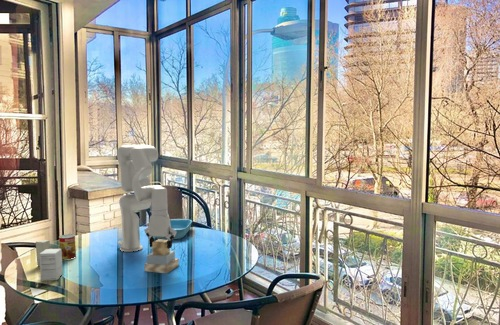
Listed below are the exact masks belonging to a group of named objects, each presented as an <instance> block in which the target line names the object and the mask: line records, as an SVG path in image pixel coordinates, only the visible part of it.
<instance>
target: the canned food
mask: <svg viewBox="0 0 500 325" xmlns="http://www.w3.org/2000/svg"><path fill="white" fill-rule="evenodd" d="M58 240H59V241H58V242H59V243H58V245H59V248H58V249H61V250H62V259H71V258H74V257H76V258H77V253H76V252H77V247H76V234H74V233H73V234H71V233H69V234H67V233H66V234H63V235H60V236H58ZM74 259H75V258H74ZM71 260H72V259H71Z"/></svg>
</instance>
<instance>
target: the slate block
mask: <svg viewBox="0 0 500 325" xmlns="http://www.w3.org/2000/svg"><path fill="white" fill-rule="evenodd" d="M146 258H147V259H146V261H147V262H146V263H147V264H157V265H168V264H169V263H170V262H171V261H173V260H174V259H175V258H176V251H175V250H170V252H169V253H167V254H165V255H164V256H163V255H153V251H151V253H149V254H148V255H146Z"/></svg>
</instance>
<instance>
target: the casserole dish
mask: <svg viewBox="0 0 500 325" xmlns="http://www.w3.org/2000/svg"><path fill="white" fill-rule="evenodd" d="M192 223H193V221H192V219H186V218H174V219H172V218H171V219H170V224H171V228H172V229H174V230H175V229H176V230H175V231H177V233H176V235H175V237H174V238H173V239H172V240H180V239H182V238H184V237H185V236H186V234H188V232H189V231H190V229H191V227H192ZM172 234H173V233H172V232H171V236H172ZM154 238H156V240H158V239H163V240H168V239H167V238H166V237H156V236H154Z"/></svg>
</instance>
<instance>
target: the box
mask: <svg viewBox="0 0 500 325" xmlns="http://www.w3.org/2000/svg"><path fill="white" fill-rule="evenodd" d="M50 241H51V240H50V239H41V240H37V241H35V251H36V263H37V265H38V266H40V256H39V254H40V253H41V252H43V251H44V250H45V249H51V242H50ZM38 266H37V267H38Z"/></svg>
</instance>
